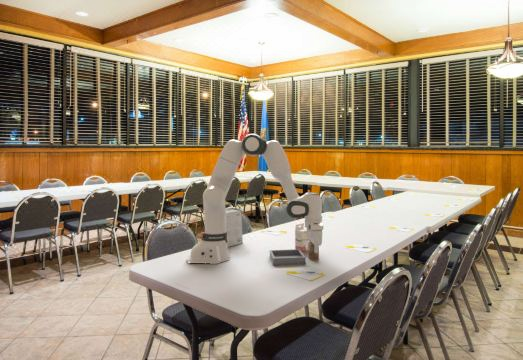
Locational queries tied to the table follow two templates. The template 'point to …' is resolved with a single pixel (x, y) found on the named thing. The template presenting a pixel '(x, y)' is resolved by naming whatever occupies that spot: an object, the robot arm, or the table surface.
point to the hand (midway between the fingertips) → (313, 250)
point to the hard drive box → (234, 227)
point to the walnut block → (312, 252)
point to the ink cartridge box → (301, 238)
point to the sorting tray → (287, 257)
